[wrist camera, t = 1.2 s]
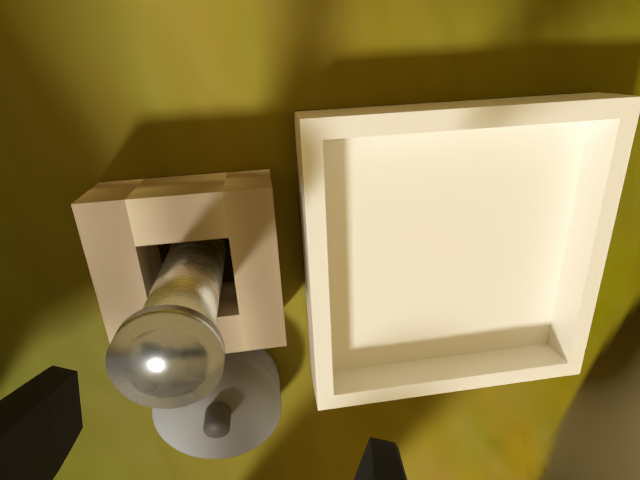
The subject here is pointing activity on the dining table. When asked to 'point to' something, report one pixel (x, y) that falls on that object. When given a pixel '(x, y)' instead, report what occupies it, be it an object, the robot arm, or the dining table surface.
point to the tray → (456, 239)
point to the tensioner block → (235, 297)
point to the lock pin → (174, 332)
